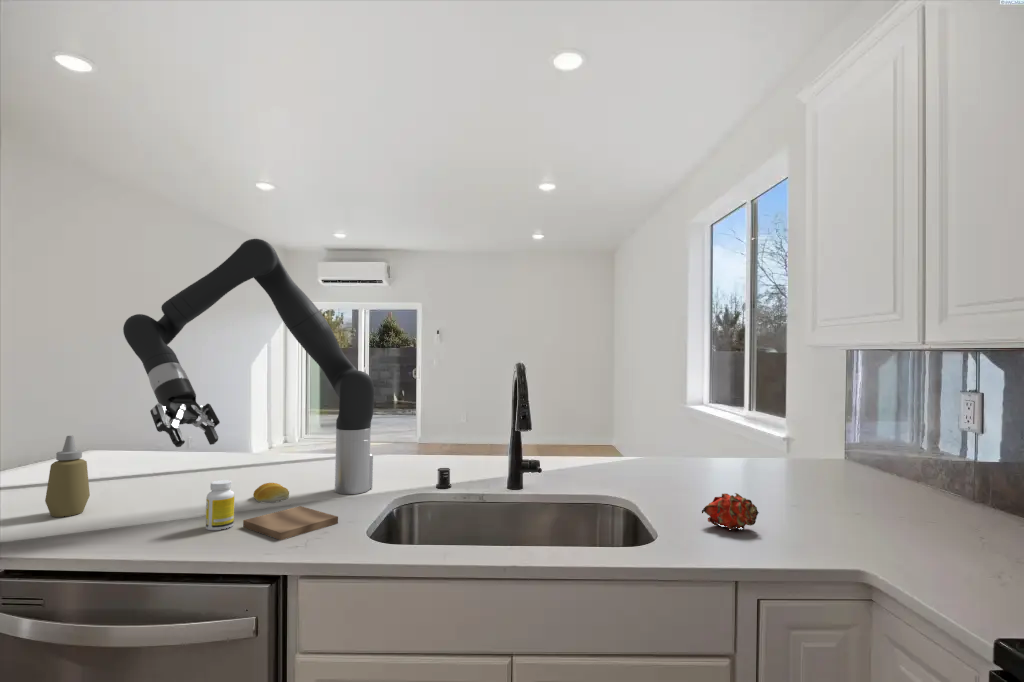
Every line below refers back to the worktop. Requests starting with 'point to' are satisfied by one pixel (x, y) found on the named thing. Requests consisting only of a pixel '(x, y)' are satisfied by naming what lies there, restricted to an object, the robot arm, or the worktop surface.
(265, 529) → the walnut board
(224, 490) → the supplement bottle
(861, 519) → the worktop surface
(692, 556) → the worktop surface
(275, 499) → the bread roll
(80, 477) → the squeeze bottle
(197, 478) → the worktop surface
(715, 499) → the dragon fruit
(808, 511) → the worktop surface
